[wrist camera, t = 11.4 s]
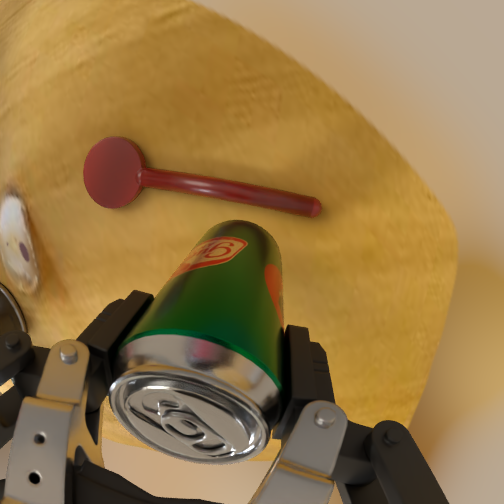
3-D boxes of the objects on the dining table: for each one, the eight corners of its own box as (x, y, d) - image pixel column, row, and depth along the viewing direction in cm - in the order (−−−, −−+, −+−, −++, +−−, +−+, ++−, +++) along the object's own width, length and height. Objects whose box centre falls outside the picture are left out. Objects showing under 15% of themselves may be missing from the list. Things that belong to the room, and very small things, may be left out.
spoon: (87, 201, 21) (77, 205, 19) (92, 135, 19) (82, 135, 17) (310, 244, 20) (312, 251, 19) (328, 169, 18) (332, 170, 17)
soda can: (245, 199, 16) (175, 319, 5) (298, 265, 17) (323, 445, 6) (182, 250, 17) (69, 392, 6) (234, 308, 18) (191, 477, 7)
